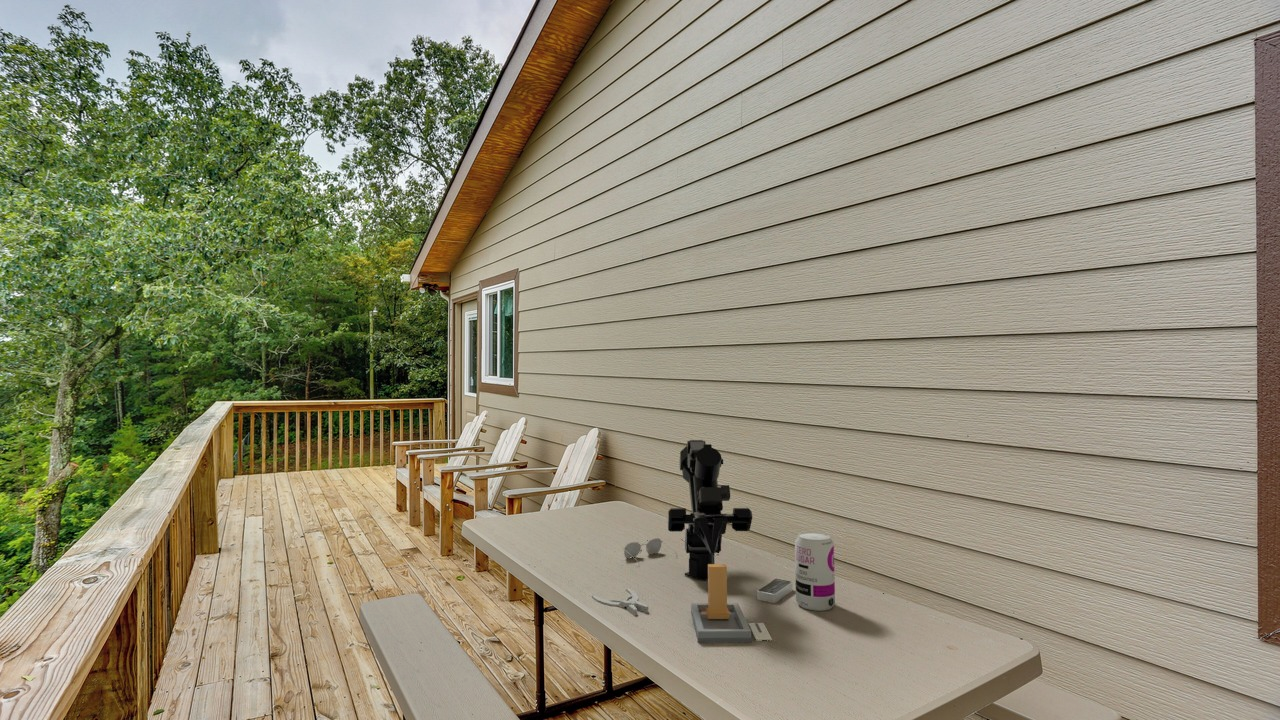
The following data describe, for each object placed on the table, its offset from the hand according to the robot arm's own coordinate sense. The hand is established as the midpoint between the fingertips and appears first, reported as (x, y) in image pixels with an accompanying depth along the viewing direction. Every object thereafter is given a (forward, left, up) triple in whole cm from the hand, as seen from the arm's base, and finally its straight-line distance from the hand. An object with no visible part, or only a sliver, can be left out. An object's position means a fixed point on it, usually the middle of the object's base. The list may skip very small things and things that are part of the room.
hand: (712, 553), depth 132 cm
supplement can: (-17, +15, -12) cm, 26 cm away
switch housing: (+5, +8, -12) cm, 15 cm away
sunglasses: (-18, -36, -12) cm, 43 cm away
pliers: (+11, -16, -12) cm, 23 cm away
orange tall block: (+5, +5, -11) cm, 13 cm away
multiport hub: (-17, +4, -12) cm, 22 cm away
